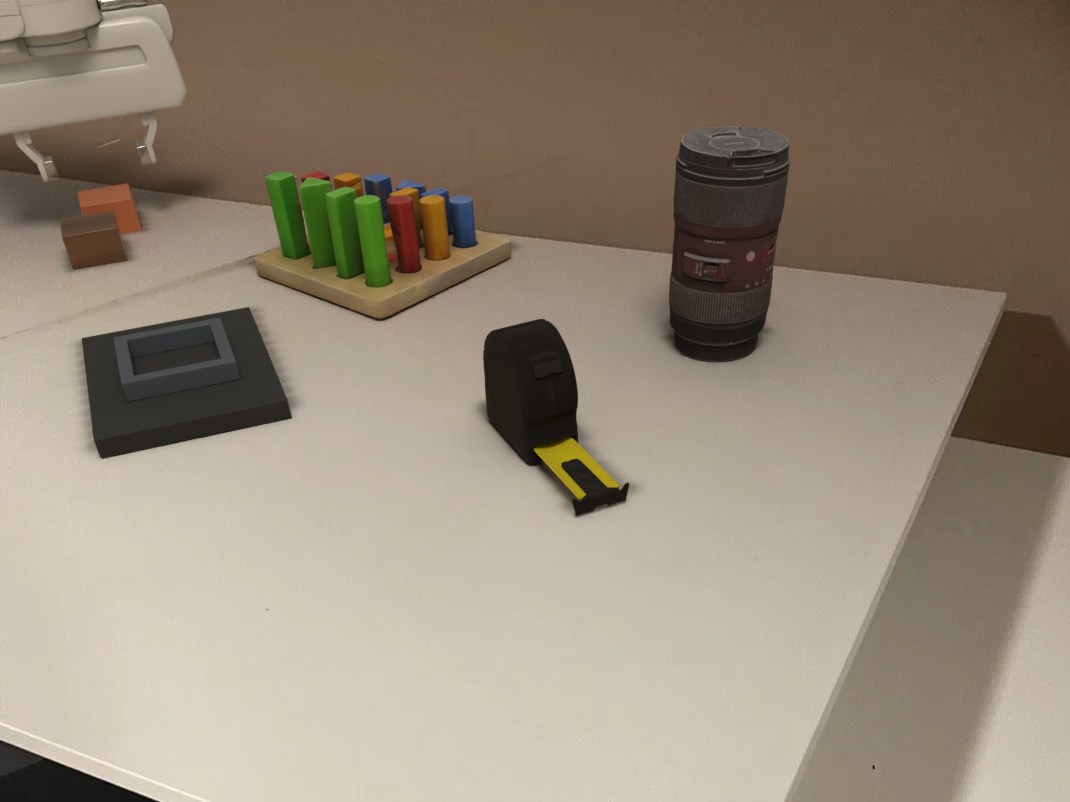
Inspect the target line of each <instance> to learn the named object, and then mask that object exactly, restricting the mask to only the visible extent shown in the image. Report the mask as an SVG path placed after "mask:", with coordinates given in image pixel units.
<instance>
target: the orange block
mask: <svg viewBox="0 0 1070 802" xmlns="http://www.w3.org/2000/svg"><path fill="white" fill-rule="evenodd" d="M129 185H130V184H129V183H122V184H121V183H120V184H116V185H115V184H114V185H109V186H102V187H95V188H90V189H83V190H78V191H77V196H78V202H79V208H80V211H81V214H82V216H83V215H89V214H95V213H102V212H108V211H113V212H114V215H115V218H116V221H117V224H118V227H119V230H120V233H121V235H124V234H129V233H135V232H141V231H143V229H142V226H141V222H140V219H139V214H138V212H137V207H136V205H135V202H134V198H133V195H132V192H131V189H130V186H129Z"/></svg>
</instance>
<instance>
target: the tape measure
mask: <svg viewBox="0 0 1070 802" xmlns="http://www.w3.org/2000/svg"><path fill="white" fill-rule="evenodd" d="M482 352H483V353H482V356H483V357H482V360H483V361H482V362H483V364H482V365H483V374H484V375H483V376H484V393H485V403H486V404H485V405H486V414H487V417H488V419H489V421H490V422H491V423H492V425H494V427H495V428H496V429H497V430H498V431H499V432H500V433H501V435H502V436H503V437H504V438H505V439H506V441H508V442H509V444H510V445H511V446H512V447H513V449H515V451H516V453H518V455H519V456H520V457H521V458H522V459H523V460H524V462H526V464H528V465H536V464H540V463H543V462H544V463H545V464H546V465H547V466H548V468H549V469H550V470H551V471H552V472H553V473H554V475H556V476H557V478H558V479H559V480H561V482H562V483H563V484H564V485H565V486H566V487H567V488H568V489H569V490H570V492H571V493H572V494H573V495H574V496H575V497H576V498H572V501H571V502H572V506H573V510H574V515H575V517H578V516H581V515H584V514H588V513H591V512H594V511H595V510H596V509H597V508H599V507H602V506H605V505H606V506H608V507H610V506H614V505H617V504H620V503H624V502H626V501H627V497H628V493H629V488H630V483H629V482H628V481H627V482H625V483H624V484H623V486H622V487H621V485H620V484H619V483H618V482H617V481H616V480H615V479H614V478H613V477H612V476H611V475H610V474H609V473H608V472H607V471H606V470H605V469H604V468H603V467H602V466H601V465H600V464H599V463H598V462H597V461H596V460H595V459H594V458H593V457H592V456H591V455H590V454H589V453H588V452H587V451H586V450H585V449H584V448H583V447H582V446H581V444H579V430H578V429H579V427H578V421H577V413H578V407H579V390H578V382H577V377H576V372H575V368H574V367H575V366H574V363H573V361H572V357H571V354H570V351H569V349H568V346H567V345H566V342H565V340H564V339H563V337H562V335H561V333H560V331H559V329H558V328H557V327H556V326H555V325H554V323H552V322H551V321H549V320H547V319H545V318H537V319H532V320H528V321H524V322H520V323H518V324H512V325H508V326H505V327H500V328H497V329H493V330H490V331H489V333H488V334H487V335H486V337H485V339H484V343H483V351H482Z"/></svg>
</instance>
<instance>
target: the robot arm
mask: <svg viewBox="0 0 1070 802" xmlns="http://www.w3.org/2000/svg"><path fill="white" fill-rule="evenodd" d="M150 1H151V2H153V3H150ZM174 40H175V29H174V24H173V21H172V17H171V13H170V11H169V9H168V7H167V5H166V4H165V3H164V2H163V1H162V0H0V136H5V135H12V136H13V139H14V142H15V143H16V146H17V148H18V149H20V150H21V151H22V153H24V154H25V156H27V157H28V158H29V159H30V160H31V161H32V162H33V163H34V164H36V165H37V168H38V171H39V173H40V177H41V179H42V182H44V183H48V182H49V183H50V182H52V181H58V180H60V175H59V172H58V168H57V167H56V164H55V161H54V158H53V156H52V155H50V156H48V155H47V156H44V155H42V154H41V153H40V152H39V151H38V150H37V149H36V147H34V146H33V144H32V143H33V137H32V133H31V132H32V131H37V130H44V129H51V128H56V127H63V126H69V125H76V124H83V123H90V122H95V121H102V120H107V119H114V118H122V117H126V116H127V117H128V116H133V115H139V118H140V121H141V124H142V126H143V127H145V130H144V134H143V140H140V141H136V142H135V146H136V149H137V152H138V156H139V159H140V162H141V165H142V166H150V165H156V164H158V162H157V161H158V160H157V158H156V155H155V151H154V147H153V145H154V141H155V137H156V133H157V129H158V120H157V118H156V115H155V112H160V111H166V110H171V109H172V110H174V109H179V108H182V107H183V106H185V103H186V100H187V98H188V91H187V86H186V84H185V80H184V78H183V75H182V72H181V68H180V66H179V64H178V61H177V59H176V56H175V53H174V51H173V48H172V44H173V42H174Z"/></svg>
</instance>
